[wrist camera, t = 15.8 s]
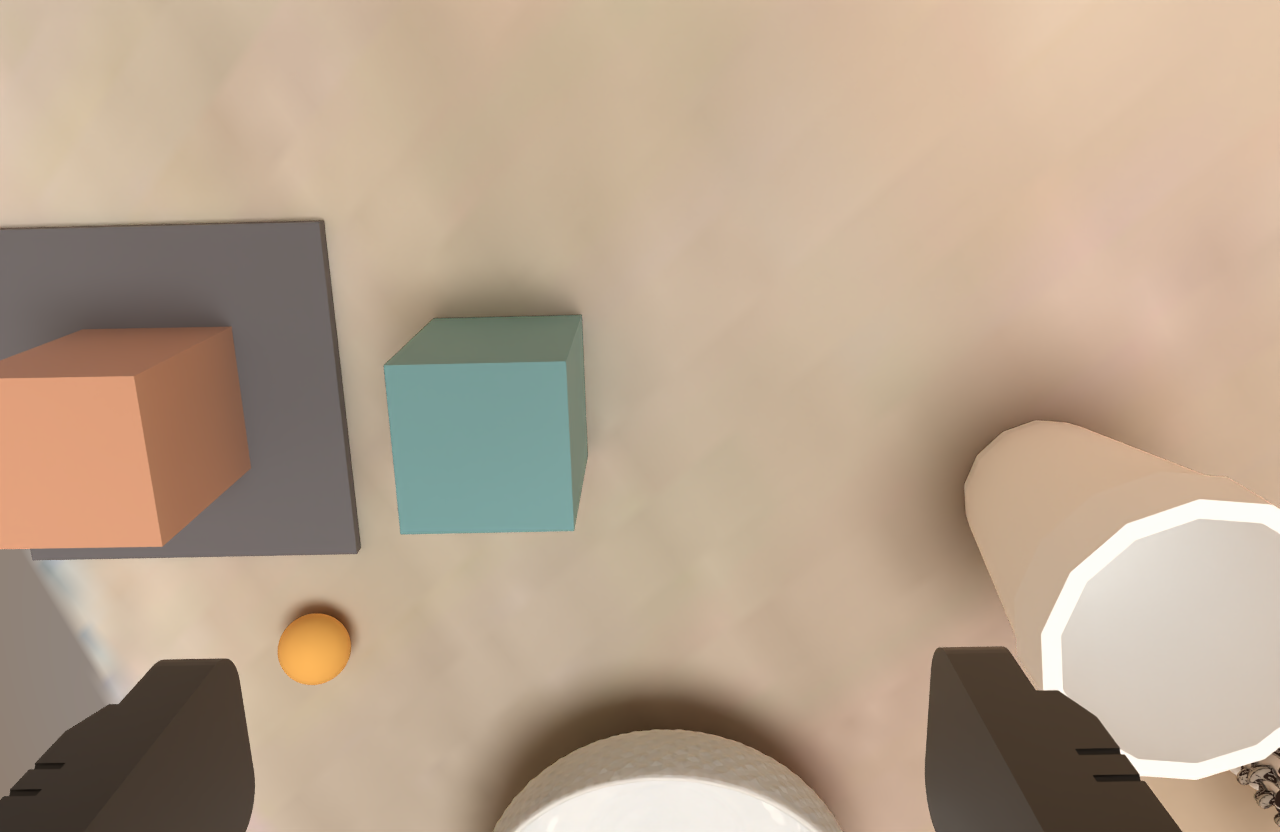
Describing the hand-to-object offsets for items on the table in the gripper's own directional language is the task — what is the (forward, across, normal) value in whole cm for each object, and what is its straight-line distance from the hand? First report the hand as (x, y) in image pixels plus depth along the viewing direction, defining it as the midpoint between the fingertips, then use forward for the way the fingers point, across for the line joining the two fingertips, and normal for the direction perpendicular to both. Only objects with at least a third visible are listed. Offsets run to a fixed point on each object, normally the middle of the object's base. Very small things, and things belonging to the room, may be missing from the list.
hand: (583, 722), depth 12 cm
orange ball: (+30, +14, +15) cm, 36 cm away
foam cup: (+30, -17, +9) cm, 36 cm away
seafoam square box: (+30, +5, +4) cm, 31 cm away
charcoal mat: (+30, +19, +4) cm, 36 cm away
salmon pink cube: (+30, +19, +4) cm, 35 cm away
